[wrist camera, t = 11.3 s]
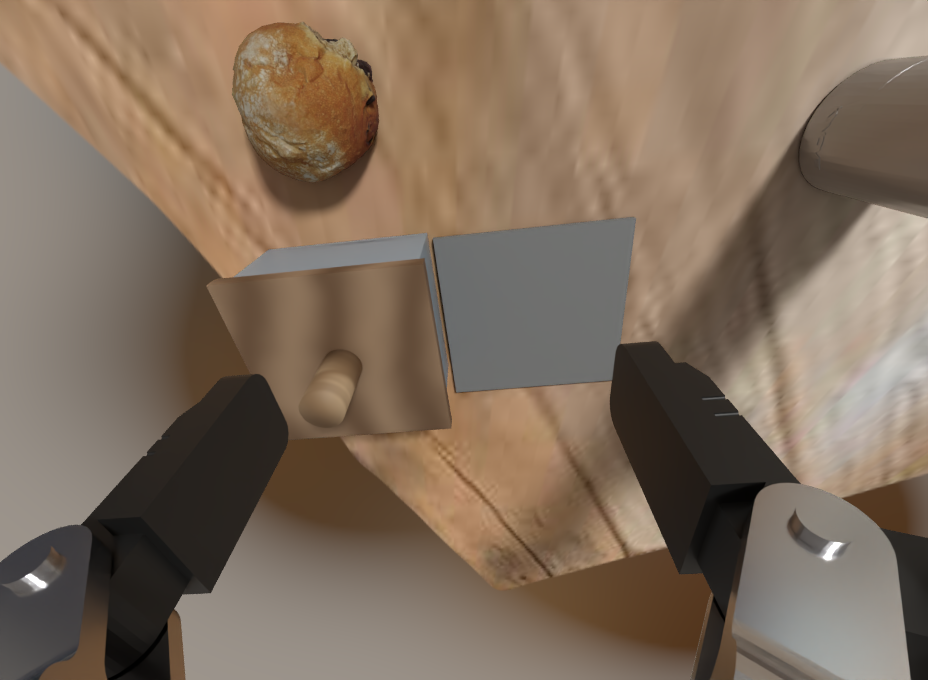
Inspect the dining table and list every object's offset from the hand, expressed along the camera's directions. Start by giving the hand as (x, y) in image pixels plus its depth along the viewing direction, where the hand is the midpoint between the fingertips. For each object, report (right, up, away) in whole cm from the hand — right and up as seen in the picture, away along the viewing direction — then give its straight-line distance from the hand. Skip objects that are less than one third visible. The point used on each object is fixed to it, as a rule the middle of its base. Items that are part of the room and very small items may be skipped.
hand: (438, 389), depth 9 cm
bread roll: (-11, +20, +21) cm, 31 cm away
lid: (-9, 0, +24) cm, 26 cm away
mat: (+8, +4, +31) cm, 32 cm away
